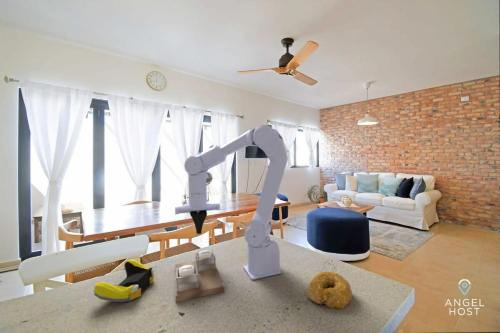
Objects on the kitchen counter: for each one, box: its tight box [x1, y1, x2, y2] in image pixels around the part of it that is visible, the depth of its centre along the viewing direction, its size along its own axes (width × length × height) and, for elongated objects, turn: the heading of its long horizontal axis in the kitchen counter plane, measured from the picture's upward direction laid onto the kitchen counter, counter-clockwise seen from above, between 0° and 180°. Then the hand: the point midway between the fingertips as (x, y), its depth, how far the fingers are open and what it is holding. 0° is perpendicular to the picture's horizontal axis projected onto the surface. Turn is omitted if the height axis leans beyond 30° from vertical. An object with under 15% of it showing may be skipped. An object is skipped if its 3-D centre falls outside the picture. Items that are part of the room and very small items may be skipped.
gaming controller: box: [93, 258, 155, 303], centre depth 59 cm, size 15×6×10 cm
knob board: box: [174, 249, 225, 303], centre depth 63 cm, size 12×17×5 cm
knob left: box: [179, 265, 195, 277], centre depth 59 cm, size 4×4×4 cm
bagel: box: [306, 271, 353, 309], centre depth 55 cm, size 10×11×5 cm
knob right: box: [198, 249, 212, 259], centre depth 68 cm, size 4×4×4 cm
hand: (198, 233), depth 73 cm, fingers closed
